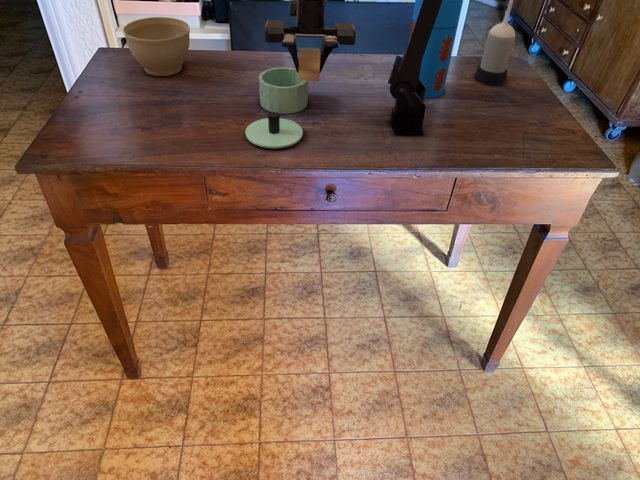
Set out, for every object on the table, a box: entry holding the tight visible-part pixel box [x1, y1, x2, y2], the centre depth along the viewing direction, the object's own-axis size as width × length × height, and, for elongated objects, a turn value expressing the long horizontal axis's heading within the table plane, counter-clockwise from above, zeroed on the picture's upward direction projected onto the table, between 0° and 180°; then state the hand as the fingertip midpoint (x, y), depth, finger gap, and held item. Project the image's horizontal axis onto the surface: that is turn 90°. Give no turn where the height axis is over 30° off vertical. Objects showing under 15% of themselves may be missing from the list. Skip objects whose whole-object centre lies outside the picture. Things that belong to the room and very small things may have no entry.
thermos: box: [408, 0, 464, 99], centre depth 122 cm, size 11×11×25 cm
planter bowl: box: [122, 16, 191, 77], centre depth 130 cm, size 16×16×11 cm
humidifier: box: [474, 0, 516, 87], centre depth 129 cm, size 8×8×25 cm
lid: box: [245, 112, 304, 149], centre depth 108 cm, size 12×12×5 cm
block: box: [298, 47, 321, 82], centre depth 110 cm, size 4×4×6 cm
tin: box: [258, 66, 309, 115], centre depth 120 cm, size 11×11×6 cm
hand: (308, 72), depth 111 cm, fingers closed on block, 4 cm apart
